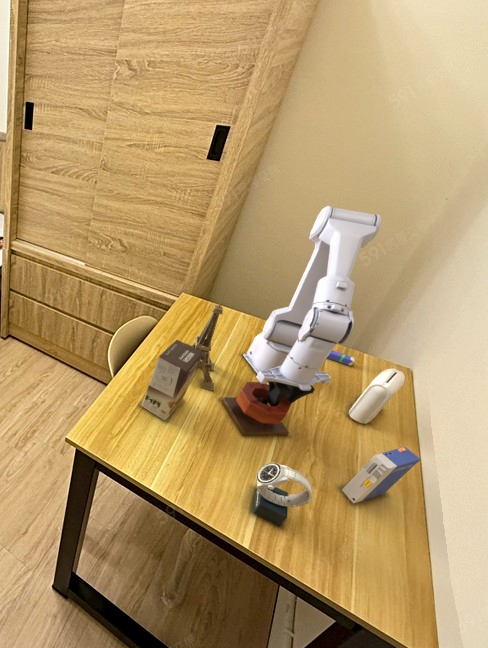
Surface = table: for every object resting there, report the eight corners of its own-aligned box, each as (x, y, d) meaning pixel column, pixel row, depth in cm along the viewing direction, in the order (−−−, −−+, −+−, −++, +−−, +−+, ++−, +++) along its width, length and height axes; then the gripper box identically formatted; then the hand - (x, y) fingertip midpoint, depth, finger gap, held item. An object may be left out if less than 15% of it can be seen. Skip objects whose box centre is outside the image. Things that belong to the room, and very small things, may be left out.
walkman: (369, 481, 81) (405, 445, 75) (383, 494, 79) (422, 458, 72) (339, 490, 80) (373, 453, 73) (353, 503, 77) (389, 467, 71)
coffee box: (165, 422, 92) (186, 372, 83) (140, 406, 96) (157, 356, 87) (182, 400, 98) (204, 351, 89) (158, 386, 102) (176, 338, 92)
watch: (244, 484, 80) (267, 451, 74) (291, 506, 77) (319, 473, 71) (241, 507, 76) (265, 474, 70) (291, 532, 73) (320, 499, 67)
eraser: (351, 366, 109) (354, 361, 108) (324, 357, 112) (327, 352, 111) (350, 362, 110) (354, 357, 109) (324, 353, 113) (328, 348, 112)
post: (221, 400, 98) (230, 383, 95) (261, 401, 98) (271, 384, 95) (242, 435, 90) (253, 418, 86) (286, 435, 90) (299, 418, 87)
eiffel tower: (171, 352, 112) (200, 276, 98) (213, 364, 108) (249, 287, 94) (168, 377, 104) (199, 299, 90) (213, 391, 100) (252, 311, 86)
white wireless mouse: (361, 396, 100) (390, 360, 93) (382, 408, 97) (414, 372, 90) (343, 414, 95) (373, 378, 88) (365, 427, 92) (397, 390, 85)
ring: (230, 391, 96) (235, 381, 94) (268, 392, 96) (274, 382, 94) (250, 423, 88) (257, 413, 86) (292, 424, 88) (299, 414, 86)
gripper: (282, 372, 80) (255, 417, 88) (353, 373, 80) (320, 417, 88) (262, 349, 86) (238, 392, 94) (328, 349, 86) (299, 393, 94)
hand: (277, 403), depth 91 cm, fingers closed on ring, 2 cm apart
